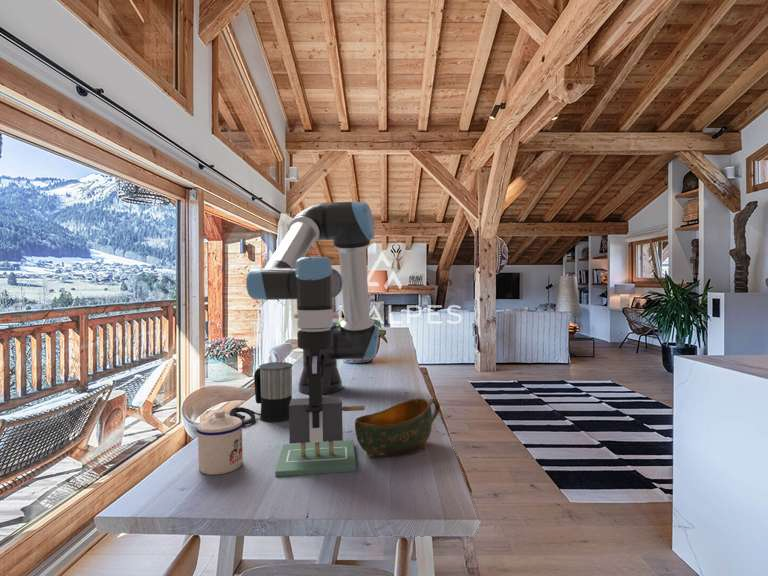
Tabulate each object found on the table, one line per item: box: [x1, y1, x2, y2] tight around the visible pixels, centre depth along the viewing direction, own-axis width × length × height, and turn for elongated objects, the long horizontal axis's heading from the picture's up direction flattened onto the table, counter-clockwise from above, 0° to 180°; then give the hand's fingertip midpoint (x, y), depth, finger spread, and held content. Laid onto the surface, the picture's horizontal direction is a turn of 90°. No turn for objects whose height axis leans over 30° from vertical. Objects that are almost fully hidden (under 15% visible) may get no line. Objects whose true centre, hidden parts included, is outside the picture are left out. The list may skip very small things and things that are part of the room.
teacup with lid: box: [196, 409, 244, 476], centre depth 92 cm, size 12×9×12 cm
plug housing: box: [288, 396, 366, 444], centre depth 94 cm, size 5×16×8 cm, turn 97°
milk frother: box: [228, 361, 293, 426], centre depth 120 cm, size 14×16×15 cm
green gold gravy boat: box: [354, 397, 441, 459], centre depth 99 cm, size 13×20×10 cm, turn 92°
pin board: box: [274, 439, 357, 477], centre depth 94 cm, size 14×16×4 cm
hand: (316, 436), depth 93 cm, fingers closed on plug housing, 5 cm apart
